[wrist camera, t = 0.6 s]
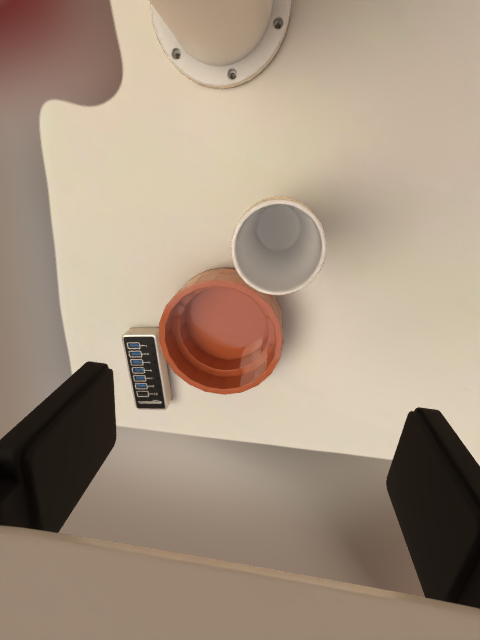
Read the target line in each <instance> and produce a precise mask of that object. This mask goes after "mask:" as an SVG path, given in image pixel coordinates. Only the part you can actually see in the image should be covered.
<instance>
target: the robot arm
mask: <svg viewBox="0 0 480 640" xmlns="http://www.w3.org/2000/svg"><path fill="white" fill-rule="evenodd" d="M149 1H150V9H151V15H152V22H153V26H154V29H155V32H156V35H157V38H158V40H159V42H160V44H161V46H162V48H163V50H164V52H165V54H166V55H167V56H168V58H169V59H170V61H171V62H172V63H173V64H174V66H175V67H176V68H177V69H178V70H179V71H180V72H181V73H183V74H184V75H185V76H186V77H188V78H189V79H190V80H192V81H194V82H196V83H198V84H200V85H203V86H207V87H211V88H230V87H235V86H239V85H241V84H243V83H245V82H247V81H250V80H251V79H252V78H254V77H255V76H257V75H258V74H259V73H261V72H262V70H263V69H264V68H265V67H266V66H267V65H268V64H269V63H270V62H271V60H272V59H273V57H274V56H275V54H276V53H277V51H278V50H279V48H280V45H281V43H282V41H283V38H284V36H285V33H286V30H287V26H288V22H289V18H290V10H291V0H149ZM277 24H279V25H281V28H280V29H276V28H275V27H276V25H277ZM178 54H180V55H181V56H180V58H179V59H177V58H176V56H177V55H178ZM232 74H235V75H236V77H235V79H231V75H232ZM115 441H116V418H115V399H114V380H113V371H112V369H109V368H108V365H107V364H104V363H97V362H86V363H85V364H84V365H83V366H82V367H81V368H80V369H78V370H77V371H76V372H75V373H74V374H73V375H72V376H71V377H70V378H69V379H67V380H66V381H65V382H64V383H63V384H62V385H61V386H60V387H59V388H57V389H56V390H55V391H54V392H53V393H52V394H51V395H50V396H48V398H46V399H45V400H44V401H43V402H42V403H41V404H40V405H38V406H37V407H36V408H35V409H34V410H33V411H32V412H31V413H30V414H28V415H27V416H26V417H25V418H24V419H23V420H22V421H21V422H19V423H18V424H17V425H16V426H15V427H14V428H13V429H12V430H11V431H10V432H8V433H7V434H6V435H5V436H4V437H3V438H2V439H1V440H0V640H480V466H479V465H478V463H477V462H476V461H475V459H474V458H473V457H472V455H471V454H470V452H469V451H468V450H467V448H466V447H465V445H464V444H463V443H462V441H461V440H460V438H459V437H458V436H457V434H456V433H455V431H454V430H453V429H452V427H451V426H450V425H449V423H448V422H447V420H446V419H445V418H444V416H443V415H442V413H441V412H440V411H438V410H434V409H427V408H419V407H418V408H416V409H415V411H414V412H413V411H411V412H409V414H408V416H407V419H406V422H405V425H404V428H403V431H402V434H401V437H400V440H399V443H398V446H397V449H396V452H395V455H394V458H393V461H392V464H391V467H390V470H389V473H388V476H387V481H386V485H387V490H388V493H389V496H390V499H391V502H392V505H393V507H394V510H395V513H396V516H397V519H398V522H399V524H400V527H401V530H402V533H403V536H404V538H405V541H406V544H407V547H408V550H409V552H410V555H411V558H412V561H413V564H414V566H415V569H416V572H417V575H418V578H419V581H420V583H421V586H422V589H423V592H424V595H425V597H420V596H415V595H410V594H405V593H399V592H394V591H388V590H383V589H377V588H372V587H366V586H361V585H355V584H350V583H344V582H339V581H333V580H328V579H322V578H317V577H311V576H306V575H300V574H295V573H289V572H283V571H278V570H272V569H267V568H261V567H255V566H250V565H244V564H238V563H232V562H227V561H221V560H215V559H210V558H204V557H198V556H192V555H187V554H181V553H175V552H169V551H164V550H158V549H152V548H146V547H140V546H134V545H128V544H122V543H116V542H110V541H104V540H98V539H93V538H87V537H81V536H74V535H67V534H61V533H58V532H59V531H60V529H61V527H62V526H63V525H64V523H65V521H66V520H67V518H68V517H69V515H70V514H71V512H72V510H73V509H74V507H75V506H76V504H77V503H78V501H79V500H80V498H81V497H82V495H83V493H84V492H85V490H86V489H87V487H88V486H89V484H90V483H91V481H92V479H93V478H94V476H95V475H96V473H97V472H98V470H99V469H100V467H101V466H102V464H103V462H104V461H105V459H106V458H107V456H108V455H109V453H110V451H111V450H112V448H113V447H114V444H115Z"/></svg>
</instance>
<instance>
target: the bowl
mask: <svg viewBox="0 0 480 640" xmlns="http://www.w3.org/2000/svg"><path fill="white" fill-rule="evenodd" d="M159 343H160V346H161V349H162V352H163V356H164V358H165V359H166V361H167V362H168V364H169V365H170V367H171V368H172V370H173V371H174V372H175V373H176V374H177V375H178V376H179V377H181V378H182V379H183V380H184V381H186V382H187V383H188V384H190V385H192V386H194V387H196V388H199V389H201V390H203V391H206V392H211V393H218V394H232V393H241V392H244V391H246V390H248V389H251V388H253V387H255V386H257V385H259V384H260V383H261V382H262V381H263V380H265V379H266V378H267V377H268V376H269V375H270V374H271V373H272V372H273V370H274V368H275V366H276V365H277V363H278V361H279V359H280V355H281V350H282V344H283V322H282V316H281V310H280V305H279V304H278V302H277V300H276V298H275V296H274V295H270V294H266V293H262V292H260V291H257V290H255V289H254V288H252V287H251V286H249V285H248V284H247V283H246V282H245V281H244V280H243V279H242V278H241V277H240V275H239V274H238V272H237V271H236V269H228V268H219V269H213V270H208V271H205V272H203V273H201V274H199V275H197V276H195V277H194V278H192V279H190V280H189V281H188V282H187V283H186V284H185V285H184V287H183V288H182V289H181V290H180V291H179V292H178V293H177V294H176V295H175V296H174V297H173V298H172V300H171V301H170V302H169V303H168V304H167V305H166V307H165V309H164V312H163V314H162V317H161V320H160V323H159Z"/></svg>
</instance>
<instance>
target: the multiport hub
mask: <svg viewBox="0 0 480 640" xmlns="http://www.w3.org/2000/svg"><path fill="white" fill-rule="evenodd" d="M122 341H123V346H124V351H125V356H126V361H127V366H128V371H129V376H130V381H131V386H132V391H133V396H134V401H135V406H136V408H137V409H150V410H166V409H167V407H168V405H169V403H170V401H171V399H172V394H171V387H170V381H169V374H168V367H167V361H166V359H165V358H164V356H163V352H162V349H161V346H160V343H159V328H130V329H129V330H128V331H127V332H126V333H125V334H124V335H123V336H122Z"/></svg>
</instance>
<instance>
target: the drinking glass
mask: <svg viewBox="0 0 480 640" xmlns="http://www.w3.org/2000/svg"><path fill="white" fill-rule="evenodd" d="M231 255H232V260H233V264H234V266H235V268H236V271H237V272H238V274H239V275H240V277H241V278H242V279H243V280H244V281H245V282H246V283H247V284H248V285H249V286H251V287H252V288H254V289H255V290H257V291H260V292H262V293H266V294H270V295H285V294H290V293H293V292H296V291H298V290H300V289H302V288H304V287H305V286H306V285H308V284H309V283H310V282H311V281H312V280H313V279H314V278H315V277H316V276H317V274H318V273H319V271H320V269H321V267H322V265H323V263H324V260H325V256H326V236H325V233H324V230H323V227H322V225H321V223H320V221H319V220H318V218H317V216H316V215H315V214H314V213H313V211H312V210H311V209H310V208H308V207H307V206H306V205H305V204H303V203H301V202H300V201H298V200H295V199H292V198H288V197H271V198H267V199H264V200H262V201H260V202H258V203H256V204H255V205H253V206H252V207H251V208H250V209H249V210H247V211H246V213H245V214H244V215H243V216H242V218H241V219H240V221H239V222H238V224H237V226H236V228H235V230H234V233H233V236H232V241H231Z"/></svg>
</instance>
